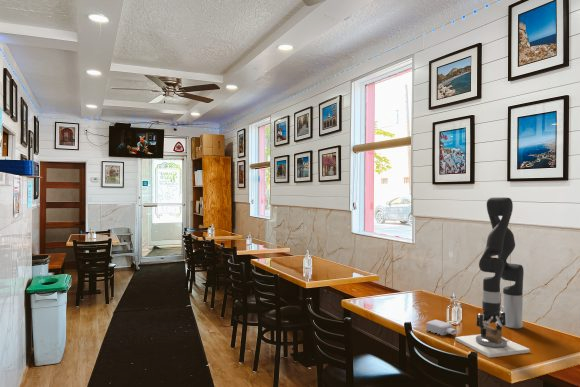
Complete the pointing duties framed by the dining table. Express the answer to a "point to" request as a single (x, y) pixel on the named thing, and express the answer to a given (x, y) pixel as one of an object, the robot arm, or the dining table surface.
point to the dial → (492, 338)
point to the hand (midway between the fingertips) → (491, 335)
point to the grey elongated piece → (440, 327)
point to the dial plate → (490, 351)
